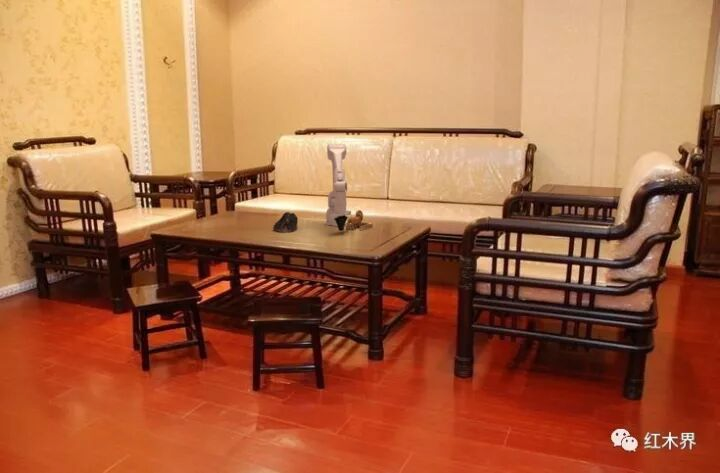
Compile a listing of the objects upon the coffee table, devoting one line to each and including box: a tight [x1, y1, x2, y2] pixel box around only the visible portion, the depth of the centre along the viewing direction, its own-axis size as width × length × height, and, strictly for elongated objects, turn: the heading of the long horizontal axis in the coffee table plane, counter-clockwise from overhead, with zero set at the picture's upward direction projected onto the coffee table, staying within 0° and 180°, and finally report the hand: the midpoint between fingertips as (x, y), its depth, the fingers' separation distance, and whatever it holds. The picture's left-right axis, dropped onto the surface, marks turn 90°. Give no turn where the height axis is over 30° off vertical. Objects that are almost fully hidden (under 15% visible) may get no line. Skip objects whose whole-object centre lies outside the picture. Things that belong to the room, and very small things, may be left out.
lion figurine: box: [345, 209, 364, 231], centre depth 309 cm, size 15×5×9 cm, turn 153°
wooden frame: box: [347, 221, 373, 232], centre depth 311 cm, size 9×10×2 cm
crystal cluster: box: [272, 211, 298, 233], centre depth 307 cm, size 13×14×10 cm
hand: (340, 230), depth 299 cm, fingers closed
